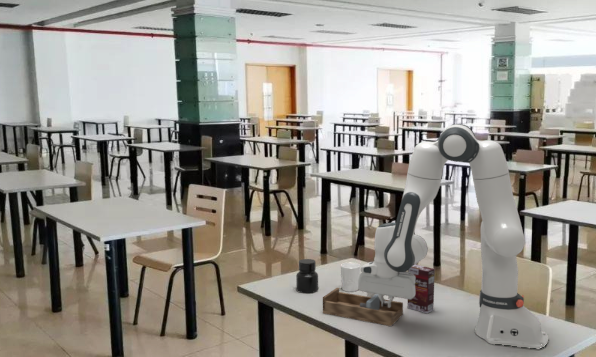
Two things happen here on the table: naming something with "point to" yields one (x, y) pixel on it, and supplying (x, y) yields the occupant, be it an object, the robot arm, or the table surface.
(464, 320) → the table surface
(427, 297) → the supplement box
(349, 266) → the white cup
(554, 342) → the table surface
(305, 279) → the ink bottle
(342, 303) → the wooden tray
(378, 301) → the pusher
